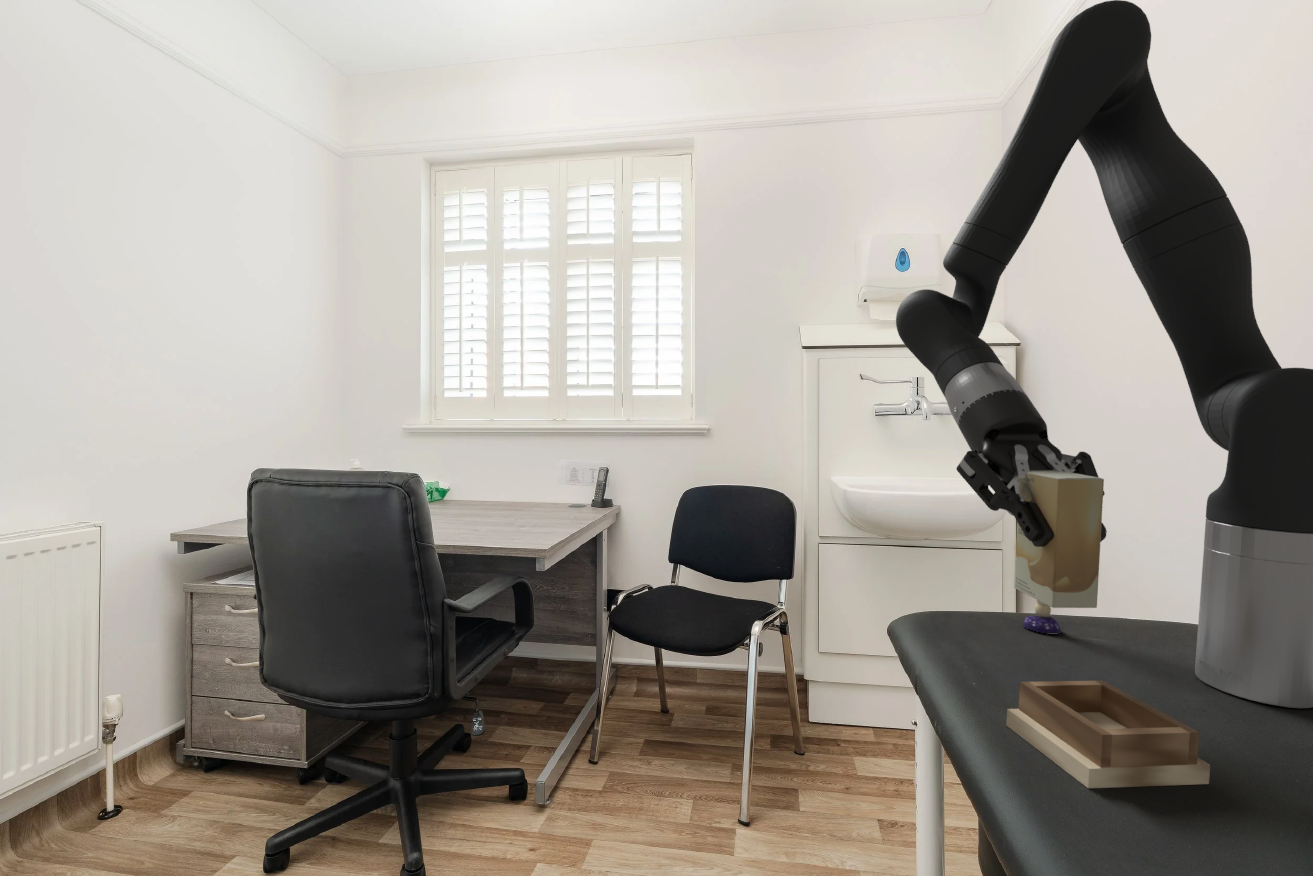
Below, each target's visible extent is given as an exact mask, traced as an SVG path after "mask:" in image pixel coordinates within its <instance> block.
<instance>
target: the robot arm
mask: <svg viewBox="0 0 1313 876" xmlns="http://www.w3.org/2000/svg"><path fill="white" fill-rule="evenodd" d="M1151 43H1152V31H1151V24H1150V21H1149V19H1148V16H1147V14H1146V13H1145V12H1144V11H1143V10H1142V8H1141V7H1139V6H1138V5H1137V4H1136V3H1133V2H1131V1H1128V0H1107V1H1106V0H1105V1H1103V2H1100V3H1097V4H1093V5H1092V6H1090V7H1087V8H1086V9H1084V10H1082V11H1081V12H1080V13H1079V14H1076V16H1074V17H1073V18H1072V19H1071V20H1070V21H1068V23H1067V24H1066V25H1065V26H1064V27H1063V28H1062V30H1061V31H1060V32H1059V33H1058V35H1057V36H1056V38H1055V39H1054V42H1053V43H1052V45H1051V47H1050V50H1049V52H1048V55H1047V59H1046V61H1045V64H1044V65H1043V69H1042V71H1041V74H1040V76H1039V78H1038V81H1037V84H1036V86H1035V89H1033V90H1034V91H1033V93H1032V95H1031V97H1030V100H1029V103H1028V105H1027V107H1026V109H1025V111H1024V114H1023V115H1022V117H1021V120H1020V122H1019V124H1018V126H1017V128H1016V130H1015V133H1014V135H1013V137H1012V139H1011V140H1010V142H1009V144H1008V146H1007V148H1006V149H1005V152H1004V153H1003V156H1002V157H1001V159H1000V161H999V163H997V164H998V165H997V167H996V168H995V169H994V172H993V173H992V174H991V177H990V179H989V180H988V181H987V184H986V185H985V187H984V189H983V190H982V192H981V193H980V196H979V197H978V199H977V201H976V202H975V204H974V205H973V207H972V208H971V210H970V212H969V213H968V216H967V217H966V219H965V221H964V222H963V224H962V226H961V227H960V229H959V231H958V232H957V234H956V236H955V238H954V239H953V241H952V244H951V245H950V247H949V248H948V250H947V251H946V254H945V255H944V258H943V262H942V263H943V267H944V269H945V271H946V272H947V273H949V275H951V276H952V277H953V278H954V280H955V286H954V291H953V294H952V297H951V296H948V295H947V294H944V293H942V292H940V291H937V290H934V289H919V290H916V291H914V292H912V293H910V294H908V295H907V296H906V297H905V298H904V299H903V300H902V302H901V303H900V304H899V306H898V309H897V311H896V317H895V326H896V327H895V328H896V330H897V333H898V336H899V338H900V340H901V341H902V343H903V344H904V345H905V347H906V348H907V349H908V350H909V351H910V352H911V354H913V356H914V357H915V358H916V360H918V361H919V362H920V364H922V366H924V367H925V368H926V369H927V370H928V371H929V372H930V373H931V375H932V376H933V378H934V380H935V382H936V384H937V385H938V388H939V389H940V391H941V394H943V397H944V399H945V400H946V402H947V406H948V408H949V412H950V413H951V416H952V418H953V420H954V421H955V424H956V425H957V427H958V429H959V431H960V432H961V434H962V436H963V438H964V439H965V441H966V443H967V445H968V447H969V449H970V450H968V451H967V452H966V453H965V455H964V456H963V457H962V459H961V460H960V462H959V463H958V465H957V466H956V471H957V472H958V473H959V475H960V477H962V479H964V481H965V482H966V483H967V484H968V485H969V487H970V488H971V489H972V490H973V491H974V492H975V494H976V495H977V496H978V497H979V498H980V499H981V500H982V502H983V503H984V505H986V506H987V508H988V509H989V510H991V511H994V512H997V511H999V510H1004V511H1007V513H1008V514H1009V515H1011V516H1013V517H1014V519H1015V520H1016V523H1017V522H1018V524H1019V526H1020V527H1021V529H1022V531H1023V533H1024V535H1025V536H1026V538H1027V539H1028V540H1029V541H1032V543H1033V545H1034V546H1036V547H1045V546H1046V545H1047V544H1048V543H1049V542H1050V541H1051V540H1052V539H1053V537H1054V533H1053V531H1052V529H1051V527H1050V525H1049V524H1048V522H1047V520H1046V519H1045V517H1044V515H1043V514H1042V512H1041V510H1040V509H1039V507H1038V505H1037V503H1030V502H1031V501H1032V495H1031V490H1030V488H1029V485H1028V482H1029V479H1028V476H1027V474H1026V473H1028V472H1030V471H1049V470H1053V471H1063V472H1069V473H1076V474H1083V475H1087V476H1093V477H1099V475H1098V472H1097V469H1096V467H1095V464H1094V462H1093V458H1092V456H1091V455H1090V454H1089V453H1088V452H1086V451H1079V452H1078V453H1077V455H1075V456H1074V455H1072V454H1071V455H1070V454H1066V453H1065V454H1064V453H1062V451H1061V450H1060V449H1059V448H1058V447H1056V446H1055V444H1053V443H1052V442H1051V441H1050V440H1049V435H1048V425H1047V423H1046V421H1045V420H1044V418H1043V417H1042V415H1041V414H1040V412H1039V411H1038V409H1037V408H1036V407H1035V405H1034V404H1033V402H1032V401H1031V399H1030V398H1029V396H1028V395H1027V393H1026V392H1025V391H1024V389H1023V387H1022V386H1021V385H1020V383H1019V382H1018V380H1017V379H1016V378H1015V377H1014V376H1013V375H1012V374H1011V373H1010V372H1009V371H1008V370H1007V369H1006V368H1005V366H1004V365H1003V363H1002V361H1001V360H1000V359H999V356H997V354H996V353H995V351H994V350H993V349H992V348H991V346H990V345H989V344H988V343H987V342H986V341H985V340H984V339H982V338H980V336H981V334H982V332H983V330H984V327H985V324H986V321H987V319H988V316H989V313H990V309H991V306H992V303H993V300H994V298H995V294H996V291H997V288H998V284H999V281H1000V278H1001V276H1002V275H1003V273H1004V272H1005V270H1006V268H1007V266H1008V265H1009V264H1010V262H1011V261H1012V259H1013V257H1014V256H1015V254H1016V252H1017V251H1018V249H1019V248H1020V246H1021V245H1022V243H1023V241H1024V240H1025V238H1026V236H1027V234H1028V233H1029V231H1030V230H1031V227H1032V226H1033V224H1034V223H1035V220H1036V218H1037V216H1038V214H1039V212H1040V210H1041V209H1042V206H1043V205H1044V202H1045V201H1046V198H1047V197H1048V194H1049V193H1050V190H1051V187H1053V184H1054V182H1055V181H1056V178H1057V176H1058V174H1059V172H1060V170H1061V168H1062V166H1063V164H1064V162H1065V161H1066V159H1068V155H1069V154H1070V153H1071V150H1072V149H1073V147H1074V146H1075V144H1076V143H1077V141H1078V142H1079V143H1080V145H1081V146H1082V149H1084V151H1085V153H1086V154H1087V156H1088V158H1089V160H1090V162H1091V164H1092V166H1093V168H1094V170H1095V173H1096V176H1097V179H1098V182H1099V185H1100V188H1101V192H1102V196H1103V198H1104V202H1105V205H1106V207H1107V209H1108V210H1107V211H1108V214H1109V215H1110V218H1111V221H1112V224H1113V225H1114V228H1115V230H1116V233H1117V236H1118V238H1119V241H1120V244H1122V248H1123V250H1124V252H1125V254H1126V256H1127V258H1128V259H1129V262H1130V264H1131V266H1132V269H1133V270H1134V272H1135V274H1136V276H1137V278H1138V280H1139V281H1140V283H1141V284H1142V287H1143V288H1144V290H1145V293H1146V294H1147V295H1146V296H1148V299H1149V301H1150V302H1151V305H1152V307H1153V309H1154V311H1155V313H1156V315H1157V317H1158V318H1159V320H1160V322H1161V324H1162V326H1163V328H1164V330H1165V331H1166V333H1167V334H1168V335H1167V336H1168V337H1169V339H1170V340H1171V343H1172V344H1173V347H1174V348H1175V351H1176V353H1177V356H1178V358H1179V362H1180V364H1181V367H1182V369H1183V370H1182V371H1183V372H1184V373H1183V374H1184V375H1185V379H1186V382H1187V384H1188V388H1189V391H1190V395H1191V397H1192V398H1191V399H1192V400H1193V404H1194V407H1195V411H1196V413H1197V416H1198V419H1199V422H1200V424H1201V427H1202V428H1203V430H1204V431H1205V433H1206V435H1207V436H1208V437H1209V439H1210V440H1212V442H1214V443H1215V444H1216V445H1218V446H1219V447H1220V448H1222V449H1223V450H1224V451H1227V452H1228V453H1227V462H1226V467H1225V468H1226V469H1225V473H1224V474H1225V475H1224V478H1223V480H1222V481H1221V484H1220V485H1219V486H1218V488H1216V489H1215V490H1213V491H1211V492H1210V494H1209V495H1208V497H1207V501H1206V507H1205V508H1206V509H1205V524H1204V525H1205V527H1204V539H1203V540H1204V541H1203V555H1202V557H1203V558H1202V568H1201V581H1200V597H1199V610H1198V624H1197V625H1198V626H1197V637H1196V647H1195V648H1196V650H1195V651H1196V652H1195V663H1194V675H1195V676H1196V678H1198V679H1199V681H1202V682H1203V683H1204V684H1207V685H1209V686H1211V687H1213V688H1215V689H1218V690H1219V691H1222V692H1224V693H1227V694H1231V695H1233V696H1236V697H1239V698H1243V699H1247V700H1249V701H1255V702H1258V703H1262V704H1267V705H1272V706H1278V707H1284V708H1292V709H1312V708H1313V368H1307V367H1306V368H1305V367H1281V365H1280V363H1279V361H1278V360H1277V358H1276V357H1275V356H1274V354H1273V352H1272V350H1271V348H1270V347H1269V345H1268V343H1267V342H1266V339H1265V338H1264V336H1263V334H1262V332H1261V329H1260V327H1259V325H1258V321H1257V317H1256V314H1255V309H1254V303H1253V302H1254V301H1253V300H1254V299H1253V298H1254V297H1253V276H1252V275H1253V274H1252V273H1253V272H1252V271H1253V269H1252V268H1253V267H1252V255H1251V248H1250V247H1251V246H1250V243H1249V239H1248V236H1247V234H1246V230H1245V227H1244V226H1243V223H1241V220H1240V217H1239V216H1238V214H1237V212H1236V210H1235V209H1234V206H1233V204H1232V202H1231V201H1230V198H1229V197H1228V194H1227V192H1226V191H1225V189H1224V187H1223V185H1222V183H1220V181H1219V179H1218V178H1217V176H1215V174H1214V173H1213V172H1212V170H1211V169H1210V168H1209V167H1208V166H1207V164H1205V162H1204V161H1203V160H1202V159H1201V158H1200V157H1199V156H1198V155H1197V154H1196V153H1195V152H1194V150H1192V148H1190V147H1189V146H1188V144H1186V143H1185V142H1184V140H1182V139H1181V137H1179V135H1178V134H1177V133H1176V131H1175V130H1174V129H1173V128H1172V126H1171V124H1170V122H1169V121H1168V119H1167V117H1166V115H1165V113H1164V111H1163V109H1162V108H1163V107H1162V105H1161V103H1160V100H1159V98H1158V96H1157V92H1156V90H1155V87H1154V84H1153V80H1152V78H1151V74H1150V73H1151V72H1150V70H1149V64H1148V59H1149V54H1150V50H1151ZM989 487H990V489H992V491H994V493H993V492H992V491H991V490H990V489H989ZM1104 496H1105V490H1104V489H1103V497H1104ZM1106 537H1107V528H1106V526H1105V525H1104V523H1103V522H1102V524H1101V542H1102V541H1103V540H1105V539H1106Z"/></svg>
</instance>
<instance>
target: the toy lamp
mask: <svg viewBox="0 0 1313 876" xmlns="http://www.w3.org/2000/svg"><path fill="white" fill-rule="evenodd" d="M1035 600H1036V599H1035ZM1051 608H1052V607H1050V606H1048V605H1046V604H1044V603H1042V602H1040V601H1039V600H1036V604H1035V606H1034V611H1035V614H1037V615H1049V616H1028V615H1026V617H1024V619H1023V621H1022V626H1023V628H1025V627H1026V628H1025V629H1027V630H1029V629H1030V630H1029V631H1031V630H1033V631H1032V632H1034V631H1036V632H1035V633H1038V632H1041V633H1040V634H1042V633H1059V632H1060V631H1061V630H1062V629H1061V626H1060V624H1059V622H1058V620H1056V619H1055V618H1054V617H1052V616H1050V615H1051V611H1052V609H1051ZM1061 632H1062V631H1061Z"/></svg>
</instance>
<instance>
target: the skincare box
mask: <svg viewBox="0 0 1313 876" xmlns="http://www.w3.org/2000/svg"><path fill="white" fill-rule="evenodd" d="M1026 474H1027V476H1028V479H1029V482H1028V485H1029V488H1030V490H1031V495H1032V501H1031V502H1030V503H1037V505H1038V507H1039V509H1040V510H1041V512H1042V514H1043V515H1044V517H1045V519H1046V520H1047V522H1048V524H1049V525H1050V527H1051V529H1052V531H1053V533H1054V537H1053V539H1052V540H1051V541H1050V542H1049V543H1048V544H1047V545H1046V546H1045V547H1036V546H1034V545H1033V543H1032V541H1029V540H1028V539H1027V538H1026V536H1025V535H1024V533H1023V531H1022V529H1021V527H1020V526H1019V524H1018V522H1017V521H1016V523H1017V524H1016V538H1015V539H1016V545H1015V562H1014V589H1016V590H1017V591H1020V592H1022V593H1023V594H1025V595H1027V596H1029V597H1031V598H1033V599H1034V600H1039V601H1040V602H1042V603H1044V604H1046V605H1048V606H1050V608H1053V609H1066V608H1067V609H1069V608H1071V609H1075V608H1076V609H1095V608H1097V607H1098V593H1099V592H1098V591H1099V576H1100V575H1099V574H1100V556H1101V554H1100V553H1101V542H1102V541H1101V524H1102V523H1103V521H1102V520H1103V502H1104V499H1103V498H1104V496H1103V490H1104V482H1105V479H1104V478H1102V477H1099V476H1098V477H1093V476H1087V475H1083V474H1076V473H1069V472H1063V471H1053V470H1049V471H1030V472H1028V473H1026Z"/></svg>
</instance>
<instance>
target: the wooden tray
mask: <svg viewBox="0 0 1313 876" xmlns="http://www.w3.org/2000/svg"><path fill="white" fill-rule="evenodd" d="M1018 694H1019V696H1018V708H1007V710H1006V727H1008V728H1009V729H1010V730H1011V731H1013V732H1014V733H1015V734H1016V735H1018V736H1019V737H1021V738H1022V739H1023V740H1024V741H1026V742H1027V743H1029V744H1030V745H1031V746H1032V747H1033V748H1035V749H1036V750H1038V752H1040V753H1041V754H1043V755H1044V756H1045V757H1047V758H1048V759H1049V760H1050V761H1052V762H1053V763H1054V764H1056V765H1057V766H1058V767H1059V768H1061V769H1062V770H1063V771H1065V773H1067V774H1069V775H1070V776H1071V777H1073V778H1074V779H1075V780H1077V781H1078V782H1079V783H1080V784H1081V785H1083V786H1084V787H1086V788H1087V789H1105V788H1106V789H1107V788H1108V789H1109V788H1136V787H1137V788H1139V787H1160V786H1161V787H1163V786H1164V787H1166V786H1187V785H1189V786H1191V785H1193V786H1194V785H1209V784H1210V772H1211V764H1210V763H1208V762H1206V761H1205V760H1202V759H1201V758H1200V757H1198V756H1199V745H1200V743H1199V741H1200V731H1197V730H1196V729H1194V728H1192V727H1191V726H1188V725H1187V724H1186V723H1185V724H1184V723H1183V722H1181V721H1179V720H1177V719H1175V718H1173V717H1171V716H1169V715H1168V714H1166V713H1164V712H1163V711H1161V710H1159V709H1158V708H1157V709H1156V708H1155V707H1153V706H1151V705H1149V704H1147V703H1145V702H1144V701H1142V700H1140V699H1138V698H1136V697H1134V696H1133V695H1131V694H1128V693H1127V692H1125V691H1123V690H1121V689H1120V688H1117V687H1116V686H1115V685H1114V686H1113V685H1112V684H1109V683H1108V682H1106V681H1104V680H1059V681H1058V680H1056V681H1055V680H1054V681H1053V680H1052V681H1020V682H1019V693H1018Z"/></svg>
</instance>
